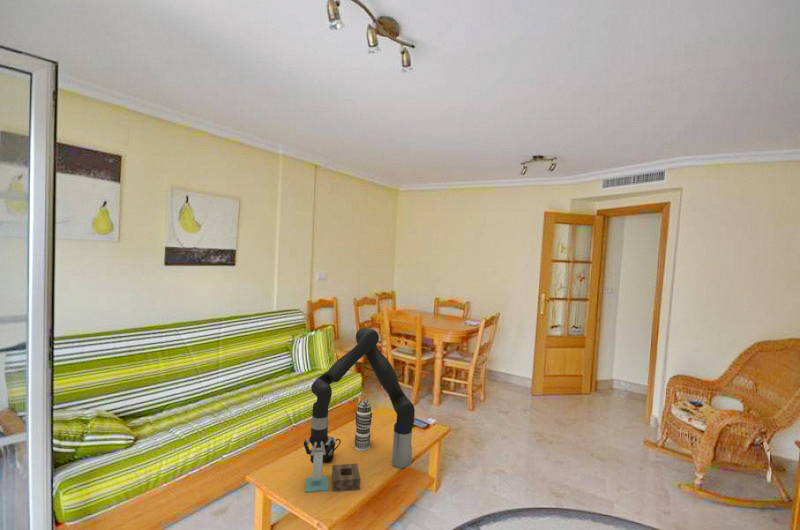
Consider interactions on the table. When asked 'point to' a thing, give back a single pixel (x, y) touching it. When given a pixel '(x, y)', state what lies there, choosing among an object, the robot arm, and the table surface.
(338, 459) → the table surface
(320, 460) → the steel peg
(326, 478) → the pad
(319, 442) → the robot arm
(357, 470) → the socket block
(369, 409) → the decorative candle
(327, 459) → the coffee mug
